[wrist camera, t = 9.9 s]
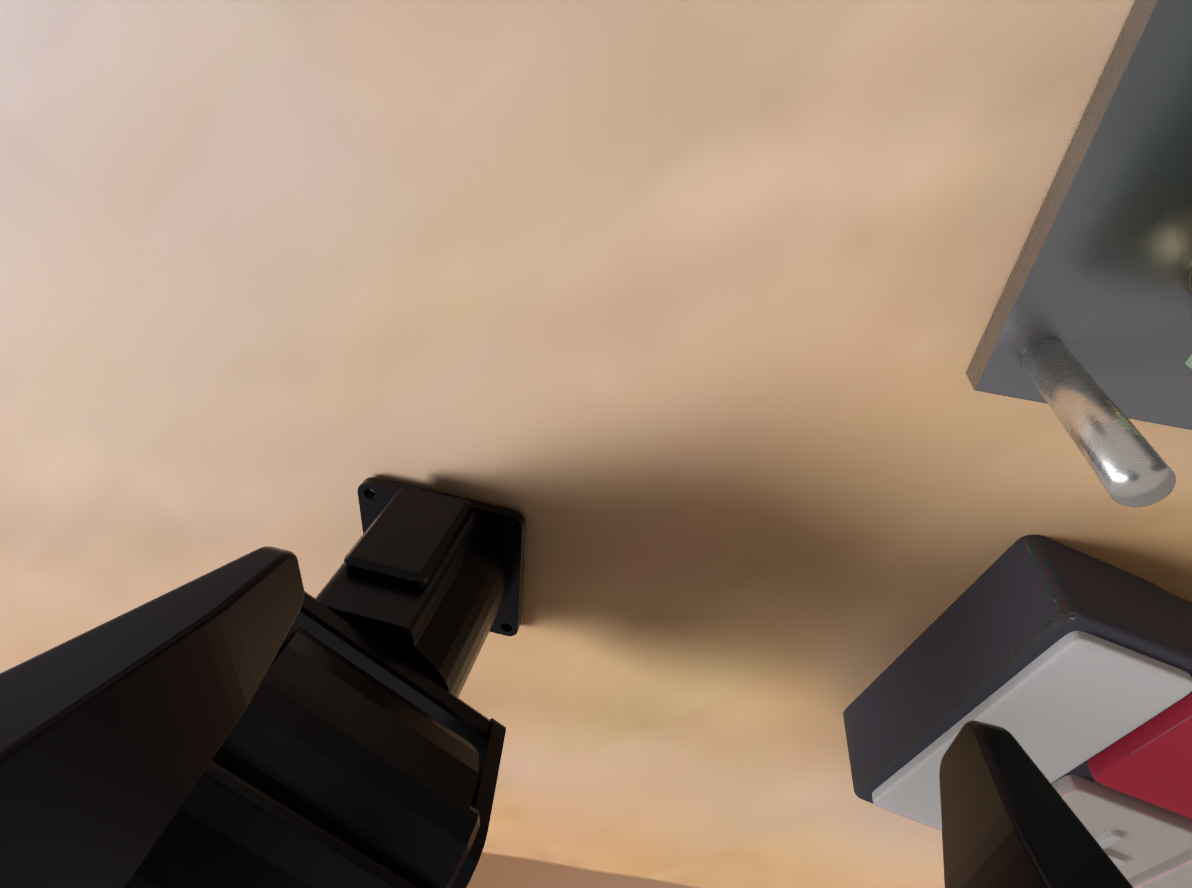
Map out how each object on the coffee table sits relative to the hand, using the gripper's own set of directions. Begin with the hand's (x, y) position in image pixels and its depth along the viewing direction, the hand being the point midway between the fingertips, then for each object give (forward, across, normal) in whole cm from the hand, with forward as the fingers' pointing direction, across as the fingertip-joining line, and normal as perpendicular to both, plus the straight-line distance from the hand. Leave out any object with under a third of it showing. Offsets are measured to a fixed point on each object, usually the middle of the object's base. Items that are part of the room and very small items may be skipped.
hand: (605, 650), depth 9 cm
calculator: (+13, -17, +12) cm, 25 cm away
